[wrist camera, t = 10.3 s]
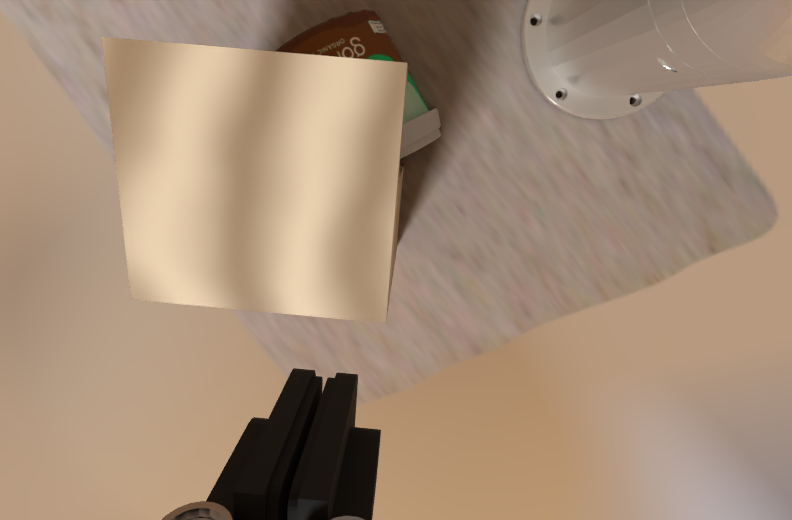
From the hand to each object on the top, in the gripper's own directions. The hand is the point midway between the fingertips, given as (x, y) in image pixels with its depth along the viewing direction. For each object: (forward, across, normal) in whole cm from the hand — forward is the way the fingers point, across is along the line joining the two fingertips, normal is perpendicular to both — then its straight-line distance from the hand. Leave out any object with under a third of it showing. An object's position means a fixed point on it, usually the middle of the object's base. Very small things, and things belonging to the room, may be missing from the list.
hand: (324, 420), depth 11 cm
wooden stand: (+27, +6, -4) cm, 28 cm away
